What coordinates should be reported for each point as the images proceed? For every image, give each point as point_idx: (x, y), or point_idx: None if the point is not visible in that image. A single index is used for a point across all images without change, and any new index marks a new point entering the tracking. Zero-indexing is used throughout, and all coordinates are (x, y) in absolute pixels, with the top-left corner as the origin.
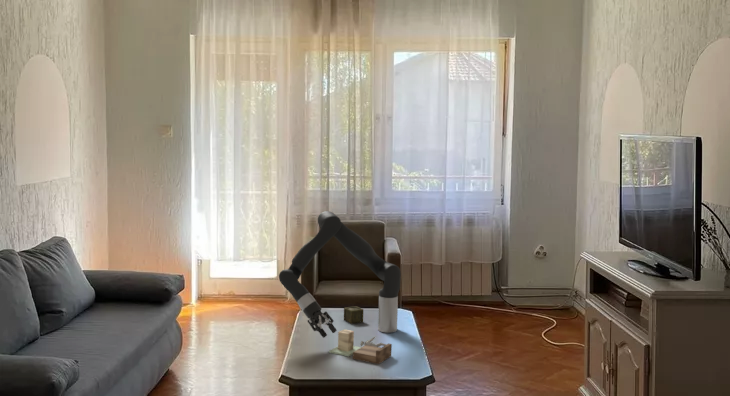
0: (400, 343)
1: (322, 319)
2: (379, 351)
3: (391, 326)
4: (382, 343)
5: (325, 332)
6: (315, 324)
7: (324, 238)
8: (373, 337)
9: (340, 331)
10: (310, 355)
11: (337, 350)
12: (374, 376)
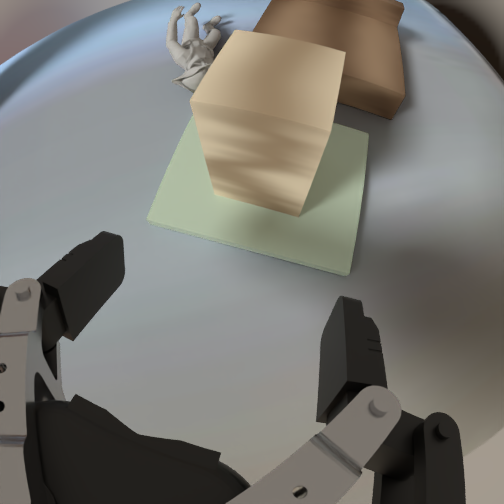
0: (104, 29)
1: (99, 470)
2: (399, 3)
3: None
4: (191, 16)
5: (345, 317)
6: (457, 483)
7: None
8: (174, 20)
9: (299, 113)
10: (433, 378)
11: (319, 216)
12: (483, 69)
